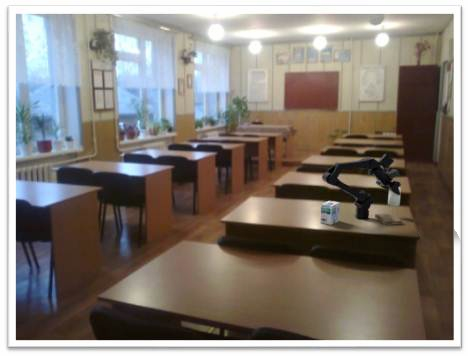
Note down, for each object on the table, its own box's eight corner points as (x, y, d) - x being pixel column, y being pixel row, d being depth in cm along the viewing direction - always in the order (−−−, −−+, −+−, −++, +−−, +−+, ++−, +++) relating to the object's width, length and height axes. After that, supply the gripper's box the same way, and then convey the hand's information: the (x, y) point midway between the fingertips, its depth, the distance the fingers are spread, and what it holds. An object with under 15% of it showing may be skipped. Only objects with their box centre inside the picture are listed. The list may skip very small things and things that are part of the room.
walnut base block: (383, 224, 237) (383, 220, 237) (374, 217, 251) (375, 213, 251) (401, 224, 237) (401, 220, 237) (392, 217, 251) (392, 213, 251)
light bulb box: (331, 225, 236) (332, 206, 234) (319, 223, 240) (320, 204, 238) (339, 220, 244) (340, 202, 242) (328, 218, 248) (329, 200, 246)
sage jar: (388, 205, 249) (389, 188, 247) (387, 202, 255) (388, 186, 254) (400, 206, 248) (401, 189, 246) (398, 203, 254) (400, 186, 252)
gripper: (399, 167, 238) (416, 186, 241) (382, 162, 256) (398, 180, 259) (384, 181, 238) (401, 201, 242) (368, 175, 256) (384, 193, 260)
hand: (396, 193), depth 251 cm, fingers closed on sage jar, 6 cm apart
